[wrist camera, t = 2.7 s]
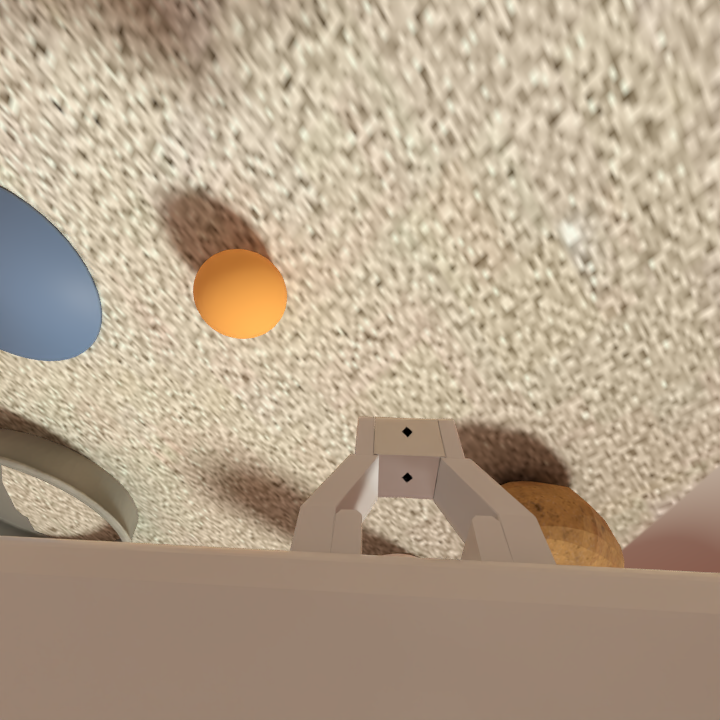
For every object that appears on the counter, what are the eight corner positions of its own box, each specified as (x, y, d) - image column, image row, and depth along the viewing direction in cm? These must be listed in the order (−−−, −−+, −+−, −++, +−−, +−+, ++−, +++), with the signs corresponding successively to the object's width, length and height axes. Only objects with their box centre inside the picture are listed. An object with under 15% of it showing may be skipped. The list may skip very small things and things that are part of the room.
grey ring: (44, 555, 47) (14, 590, 43) (-129, 433, 35) (-192, 468, 31) (192, 539, 43) (173, 577, 39) (54, 393, 30) (6, 428, 26)
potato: (511, 435, 29) (549, 519, 23) (614, 494, 33) (674, 582, 26) (440, 490, 34) (455, 574, 27) (537, 537, 37) (571, 621, 31)
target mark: (-169, 168, 21) (-174, 169, 20) (41, 166, 20) (38, 166, 20) (-27, 358, 28) (-29, 359, 28) (130, 361, 27) (128, 362, 27)
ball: (208, 239, 22) (160, 263, 17) (290, 239, 21) (264, 263, 17) (227, 316, 24) (190, 354, 20) (299, 317, 24) (279, 355, 20)
